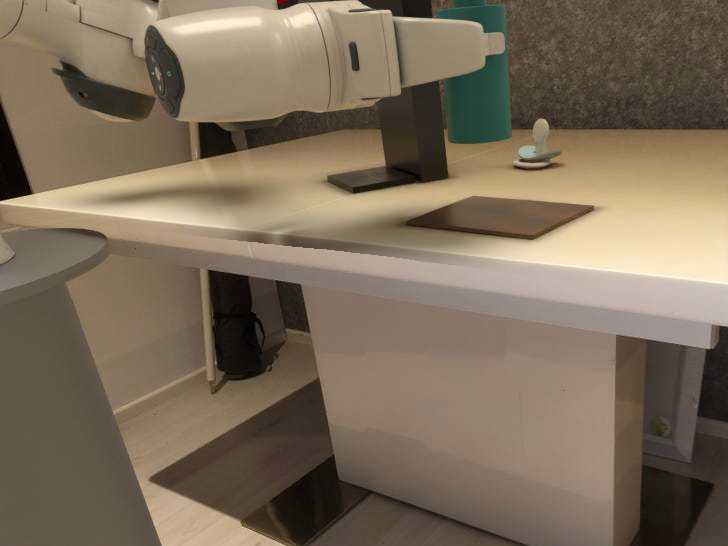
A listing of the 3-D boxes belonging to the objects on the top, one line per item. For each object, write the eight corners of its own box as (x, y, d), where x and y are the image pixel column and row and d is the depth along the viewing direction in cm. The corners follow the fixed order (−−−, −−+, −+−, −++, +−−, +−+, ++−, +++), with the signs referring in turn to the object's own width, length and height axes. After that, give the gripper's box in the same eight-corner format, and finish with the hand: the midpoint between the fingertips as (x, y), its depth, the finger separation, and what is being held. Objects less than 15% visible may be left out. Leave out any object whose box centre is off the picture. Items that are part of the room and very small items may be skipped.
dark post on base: (355, 194, 88) (319, -35, 77) (326, 180, 100) (290, -21, 89) (448, 177, 94) (427, -39, 82) (410, 165, 105) (386, -26, 94)
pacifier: (533, 173, 93) (568, 164, 95) (530, 125, 90) (565, 118, 92) (504, 167, 98) (537, 159, 101) (500, 122, 96) (534, 115, 98)
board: (532, 239, 63) (532, 235, 63) (406, 224, 72) (405, 220, 72) (594, 209, 71) (594, 205, 71) (473, 199, 80) (473, 195, 80)
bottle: (487, 144, 65) (474, -47, 58) (435, 143, 69) (416, -37, 62) (524, 134, 70) (516, -45, 63) (473, 133, 74) (460, -36, 67)
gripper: (319, 90, 70) (439, 77, 76) (390, 98, 54) (537, 80, 59) (308, 23, 68) (433, 14, 73) (379, 9, 51) (534, -1, 57)
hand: (481, 44), depth 66 cm, fingers closed on bottle, 6 cm apart
